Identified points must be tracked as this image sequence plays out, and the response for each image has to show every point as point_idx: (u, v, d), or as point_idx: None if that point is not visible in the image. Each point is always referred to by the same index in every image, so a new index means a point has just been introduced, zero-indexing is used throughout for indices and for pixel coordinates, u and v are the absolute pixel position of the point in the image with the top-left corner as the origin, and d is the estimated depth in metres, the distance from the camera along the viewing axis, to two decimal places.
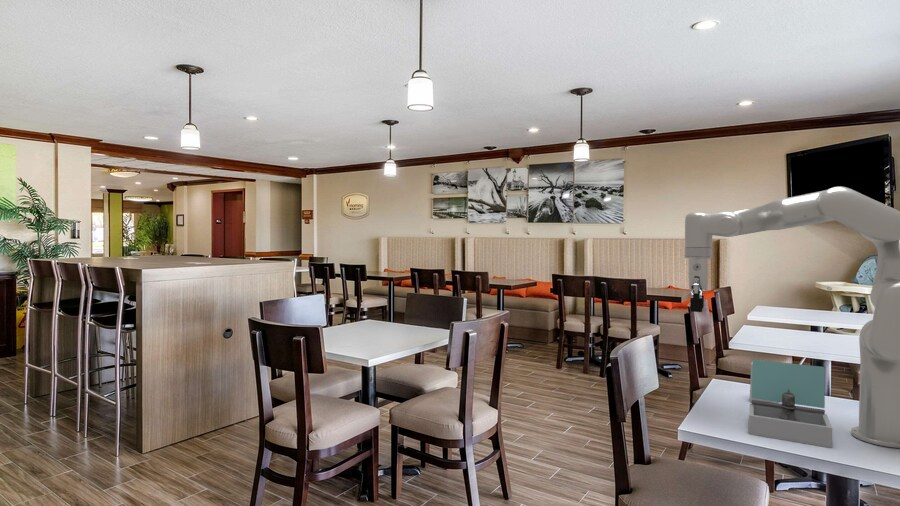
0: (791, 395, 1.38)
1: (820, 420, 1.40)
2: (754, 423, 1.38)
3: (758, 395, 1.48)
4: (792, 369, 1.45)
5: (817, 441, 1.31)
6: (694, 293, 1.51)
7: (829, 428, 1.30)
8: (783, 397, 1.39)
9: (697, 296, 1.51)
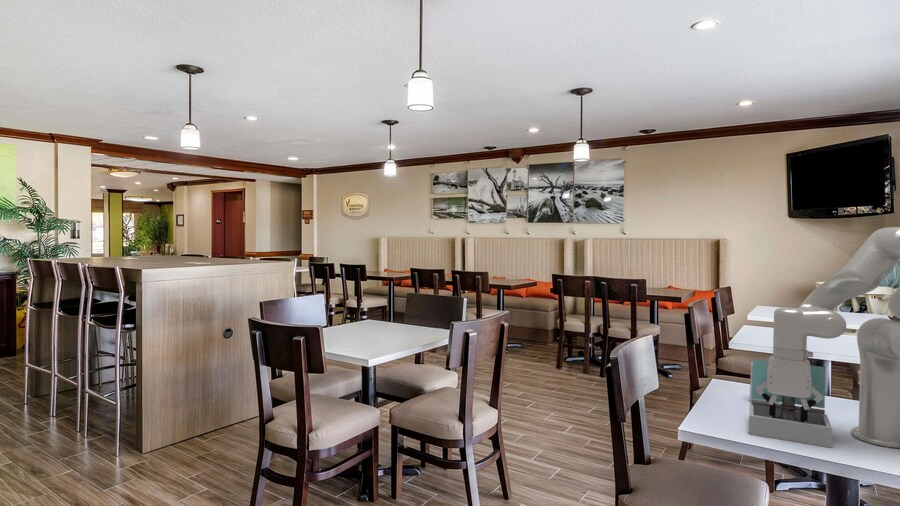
0: None
1: (820, 420, 1.40)
2: (754, 423, 1.38)
3: (758, 395, 1.48)
4: None
5: (817, 441, 1.31)
6: None
7: (829, 428, 1.30)
8: (783, 397, 1.39)
9: None
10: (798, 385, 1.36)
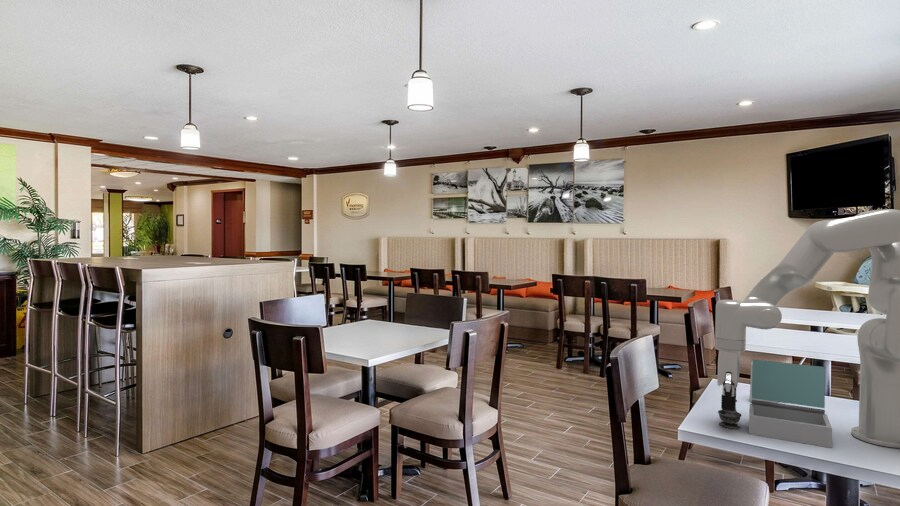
0: None
1: (820, 420, 1.40)
2: (754, 423, 1.38)
3: (758, 395, 1.48)
4: (792, 369, 1.45)
5: (817, 441, 1.31)
6: None
7: (829, 428, 1.30)
8: None
9: None
10: None
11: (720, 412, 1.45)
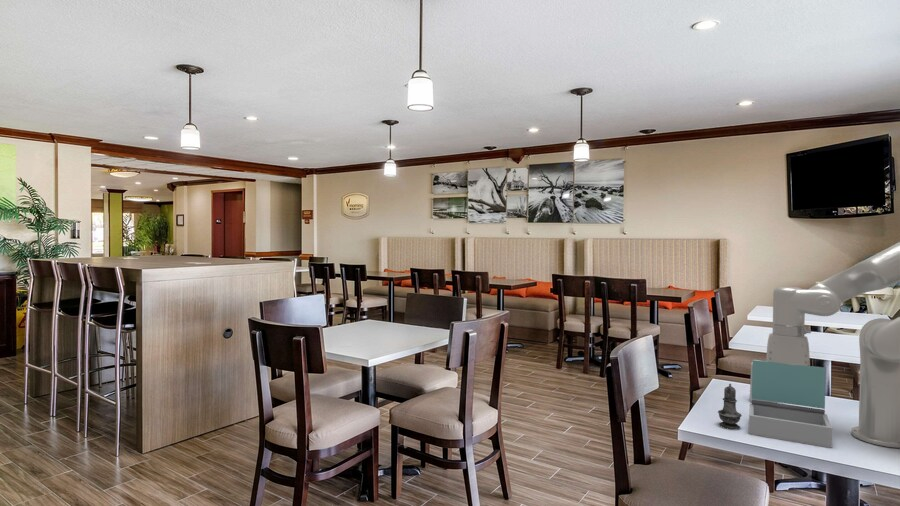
0: (733, 388, 1.45)
1: (820, 420, 1.40)
2: (754, 423, 1.38)
3: (758, 396, 1.47)
4: (793, 370, 1.43)
5: (817, 441, 1.31)
6: None
7: (829, 428, 1.30)
8: (732, 392, 1.43)
9: None
10: (796, 360, 1.42)
11: (720, 412, 1.45)
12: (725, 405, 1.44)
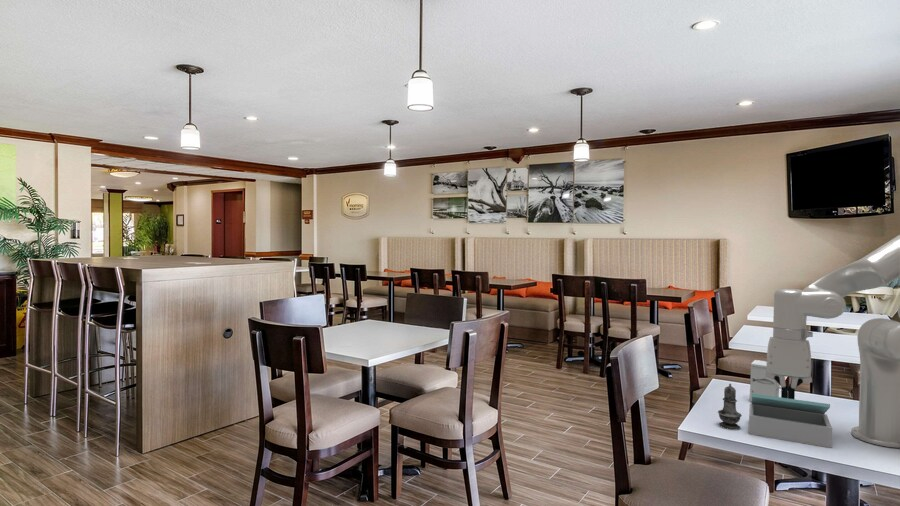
0: (733, 388, 1.45)
1: (820, 420, 1.40)
2: (754, 423, 1.38)
3: (758, 403, 1.46)
4: (794, 403, 1.35)
5: (817, 441, 1.31)
6: None
7: (829, 428, 1.30)
8: (732, 392, 1.43)
9: None
10: (798, 364, 1.38)
11: (720, 412, 1.45)
12: (725, 405, 1.44)
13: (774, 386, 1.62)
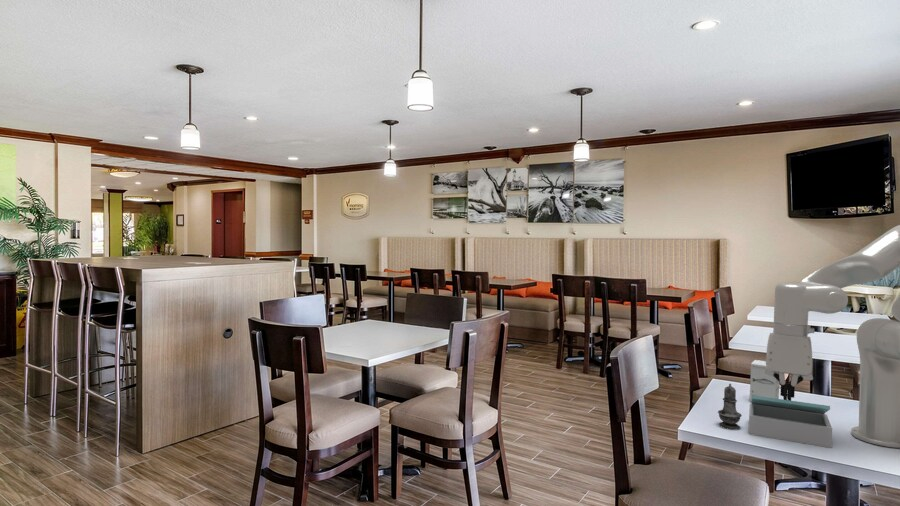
0: (733, 388, 1.45)
1: (820, 420, 1.40)
2: (754, 423, 1.38)
3: (758, 403, 1.46)
4: (794, 405, 1.35)
5: (817, 441, 1.31)
6: None
7: (829, 428, 1.30)
8: (732, 392, 1.43)
9: None
10: (798, 361, 1.33)
11: (720, 412, 1.45)
12: (725, 405, 1.44)
13: (774, 386, 1.62)
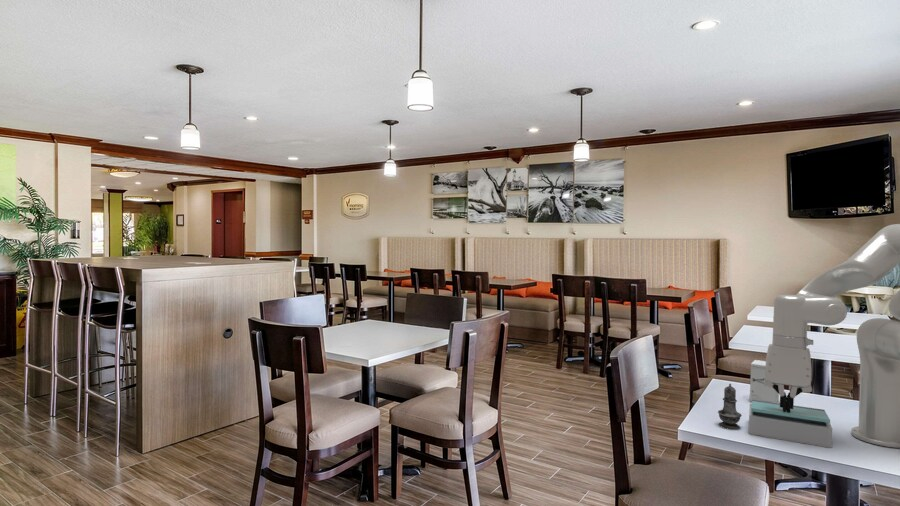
0: (733, 388, 1.45)
1: None
2: (754, 423, 1.38)
3: None
4: None
5: (817, 441, 1.31)
6: None
7: (829, 428, 1.30)
8: (732, 392, 1.43)
9: None
10: (797, 373, 1.33)
11: (720, 412, 1.45)
12: (725, 405, 1.44)
13: None
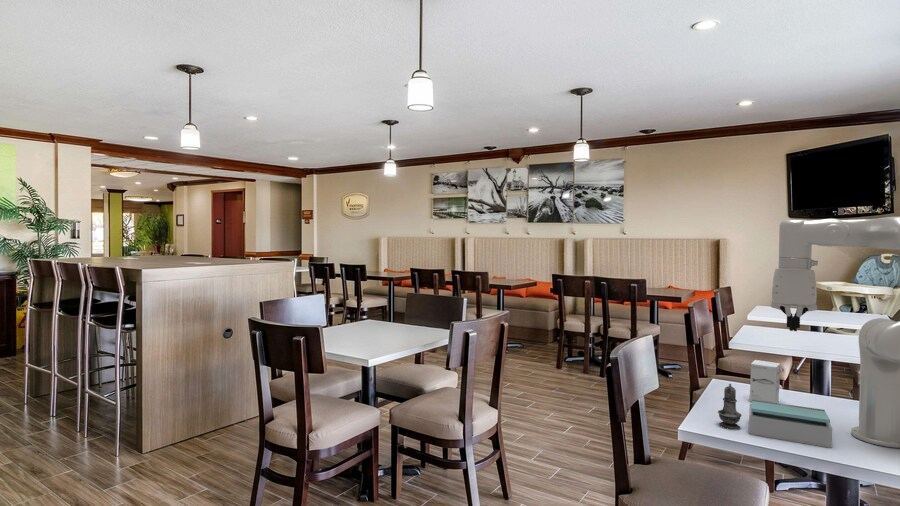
0: (733, 388, 1.45)
1: None
2: (754, 423, 1.38)
3: None
4: None
5: (817, 441, 1.31)
6: None
7: (829, 428, 1.30)
8: (732, 392, 1.43)
9: None
10: (803, 292, 1.40)
11: (720, 412, 1.45)
12: (725, 405, 1.44)
13: (774, 386, 1.62)
